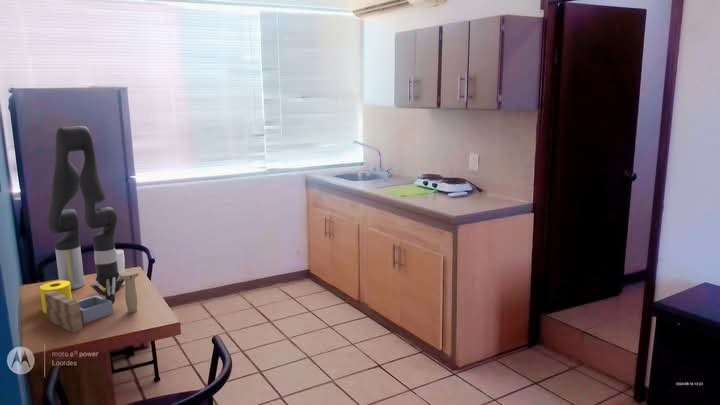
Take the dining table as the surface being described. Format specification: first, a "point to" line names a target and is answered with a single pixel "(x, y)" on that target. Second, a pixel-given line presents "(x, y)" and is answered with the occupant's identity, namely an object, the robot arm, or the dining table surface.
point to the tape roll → (56, 286)
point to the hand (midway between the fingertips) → (110, 303)
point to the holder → (94, 308)
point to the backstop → (63, 311)
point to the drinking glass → (120, 262)
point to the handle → (130, 289)
